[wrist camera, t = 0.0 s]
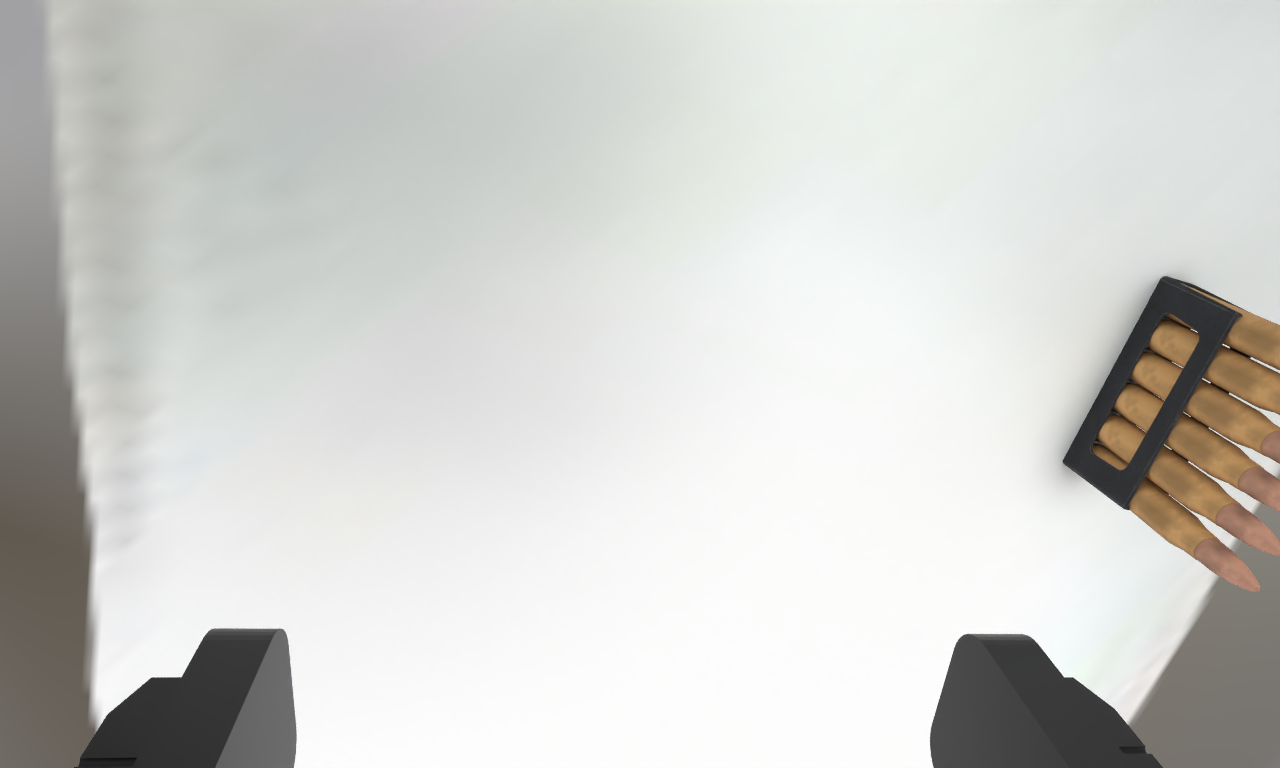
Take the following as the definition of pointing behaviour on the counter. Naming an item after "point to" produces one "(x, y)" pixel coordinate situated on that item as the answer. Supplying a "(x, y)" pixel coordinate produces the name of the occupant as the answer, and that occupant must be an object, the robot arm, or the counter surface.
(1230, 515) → the ammunition clip
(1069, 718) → the robot arm
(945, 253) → the counter surface
